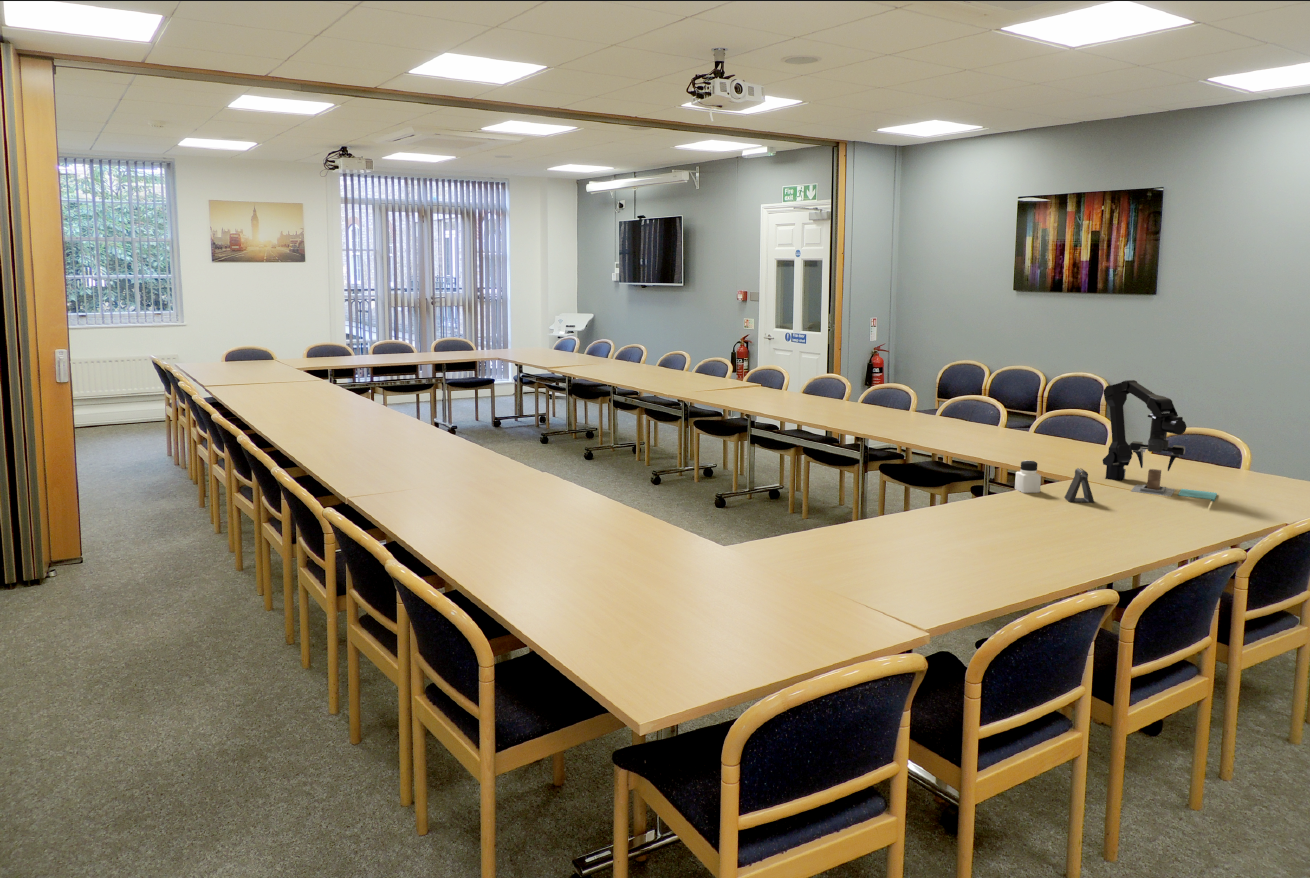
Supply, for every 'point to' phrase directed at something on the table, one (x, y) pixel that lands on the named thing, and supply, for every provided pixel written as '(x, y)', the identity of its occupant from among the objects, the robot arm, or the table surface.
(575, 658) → the table surface
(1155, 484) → the walnut block
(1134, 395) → the robot arm
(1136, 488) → the holder
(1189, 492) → the mat
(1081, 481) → the phone stand
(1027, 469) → the medicine bottle
